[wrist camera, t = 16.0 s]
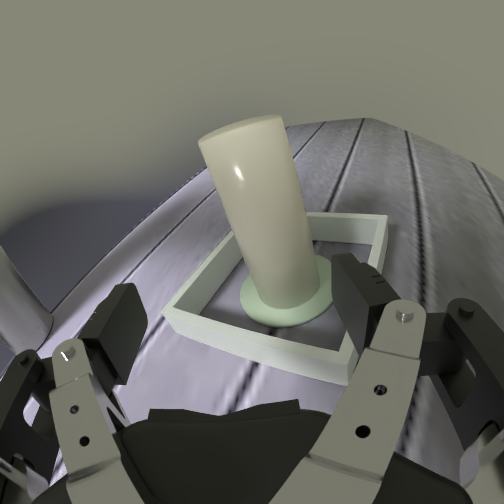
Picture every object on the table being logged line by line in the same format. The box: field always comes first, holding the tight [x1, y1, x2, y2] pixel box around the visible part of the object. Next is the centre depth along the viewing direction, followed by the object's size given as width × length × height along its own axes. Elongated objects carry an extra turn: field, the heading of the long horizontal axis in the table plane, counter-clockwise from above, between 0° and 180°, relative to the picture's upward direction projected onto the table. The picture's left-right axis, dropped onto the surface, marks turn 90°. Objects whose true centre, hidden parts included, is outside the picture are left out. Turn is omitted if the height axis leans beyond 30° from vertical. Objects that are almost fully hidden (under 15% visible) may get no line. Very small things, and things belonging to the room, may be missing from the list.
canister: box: [198, 115, 320, 309], centre depth 21 cm, size 6×6×14 cm
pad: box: [240, 254, 333, 328], centre depth 25 cm, size 9×9×1 cm
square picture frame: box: [161, 212, 388, 386], centre depth 24 cm, size 16×16×3 cm
